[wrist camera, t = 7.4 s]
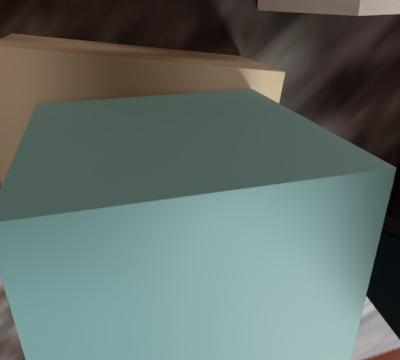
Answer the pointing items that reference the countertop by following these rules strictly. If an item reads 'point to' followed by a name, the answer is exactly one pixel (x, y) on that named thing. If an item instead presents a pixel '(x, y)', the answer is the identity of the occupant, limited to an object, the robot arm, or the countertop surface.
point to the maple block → (109, 77)
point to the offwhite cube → (333, 6)
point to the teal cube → (188, 230)
